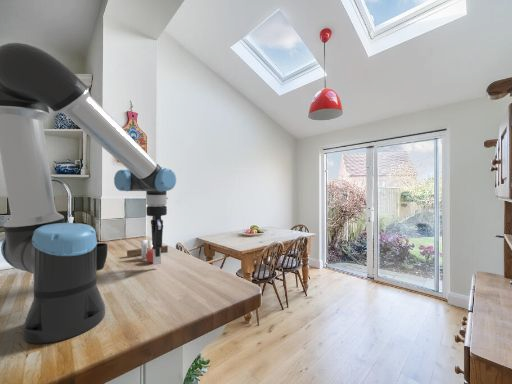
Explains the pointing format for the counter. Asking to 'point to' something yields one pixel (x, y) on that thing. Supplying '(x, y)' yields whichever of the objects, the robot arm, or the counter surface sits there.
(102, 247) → the mug
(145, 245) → the pin left
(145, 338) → the counter surface
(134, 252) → the backstop
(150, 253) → the ball
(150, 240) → the pin front
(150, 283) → the counter surface
